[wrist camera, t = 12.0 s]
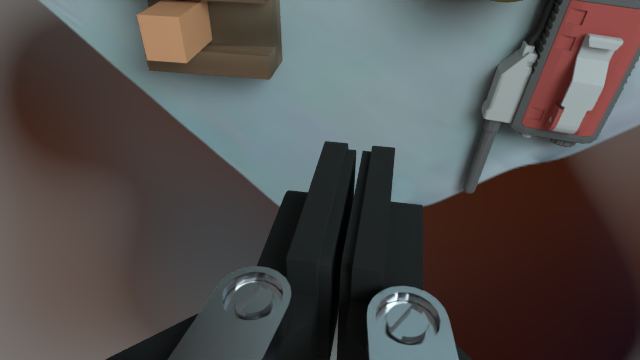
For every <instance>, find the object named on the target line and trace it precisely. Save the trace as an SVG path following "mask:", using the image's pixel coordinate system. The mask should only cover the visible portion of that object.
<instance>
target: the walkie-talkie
mask: <svg viewBox="0 0 640 360" xmlns="http://www.w3.org/2000/svg"><path fill="white" fill-rule="evenodd" d="M535 40H536V41H535ZM639 56H640V0H548V1H547V4H546V6H545V9H544V12H543V14H542V17H541V20H540V22H539V24H538V27H537V28H536V30H535V32H534V33H533V34H532V35H530V37H529V38H528V40H527V41H523V43H522V46H521V48H519V49H518V50H517V51H515V52H514V53H513V54H511V55H510V56H509V57H508V58H506V59H505V60H504V61H502V62H501V63H500V64H499V65H498V67H497V70H496V73H495V76H494V79H493V82H492V84H491V87H490V90H489V93H488V96H487V99H486V100H485V101H484V102H483V105H482V108H481V110H482V115H483V118H484V119H486V120H485V122H484V125H483V128H484V130H483V133H482V136H481V139H480V142H479V145H478V147H477V150H476V153H475V156H474V159H473V162H472V165H471V167H470V170H469V173H468V176H467V179H466V182H465V185H464V187H463V188H464V191H465V192H466V193H473V192H474V191H475V188H476V186H477V183H478V180H479V178H480V175H481V172H482V170H483V167H484V164H485V162H486V159H487V156H488V154H489V151H490V148H491V146H492V143H493V140H494V138H495V135H496V132H498V131H499V130H500V127H501V124H502V122H505V123H511V124H510V127H511V128H513V129H514V131H517V132H520V133H521V135H522V136H524V137H526V138H531V137H532V135H533V136H539V137H545V138H549V139H550V140H551V141H552V142H553V143H555V144H557V145H560V146H564V147H571V146H574V145H575V144H576V143H582V144H584V143H591V142H593V141H594V140H596V139H597V137H598V136H599V134H600V132H601V130H602V128H603V126H604V124H605V122H606V120H607V119H608V117H609V115H610V113H611V111H612V109H613V107H614V105H615V103H616V102H617V100H618V98H619V96H620V94H621V92H622V90H623V86H624V84H625V83H627V79H628V77H629V76H630V75H631V71H632V69H634V68H635V66H634V65H635V63H636V62H637V61H638V60H639V59H638V58H639Z"/></svg>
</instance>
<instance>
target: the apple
mask: <svg viewBox="0 0 640 360" xmlns="http://www.w3.org/2000/svg"><path fill="white" fill-rule="evenodd" d="M492 1H496V2H516V1H522V0H492Z"/></svg>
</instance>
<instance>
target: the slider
mask: <svg viewBox="0 0 640 360" xmlns="http://www.w3.org/2000/svg"><path fill="white" fill-rule="evenodd" d="M137 18H138V22H139V26H140V31H141V35H142V40H143V44H144V48H145V53H146V57H147V60H150V61H164V62H177V63H187V62H189V61H190V60H191V59H192V58H193V57H194V56H195V55H196V54H197V53H198V52H200V51H201V50H202V49H203V48H204V47H205V46H206V45H207V44H208V43H209V42H211V41H212V33H211V26H210V18H209V11H208V4H207V1H203V0H161V1H160V2H158V3H156V4H154V5H153V6H151V7H149V8H147V9H146V10H144V11H142V12H141V13H139V14H137Z"/></svg>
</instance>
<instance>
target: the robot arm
mask: <svg viewBox="0 0 640 360" xmlns="http://www.w3.org/2000/svg"><path fill="white" fill-rule="evenodd" d="M394 156H395V148H391V147H381V146H372V151H371V152H370V151H363V153H362V158H361V163H360V168H359V173H358V179H357V184H356V189H355V194H354V183H355V165H356V150H349V149H348V143H338V142H327V141H326V142H325V143H324V146H323V149H322V152H321V155H320V158H319V161H318V164H317V167H316V170H315V173H314V176H313V179H312V182H311V185H310V188H309V192H299V191H289V190H288V191H287V192H286V194H285V196H284V198H283V201H282V203H281V206H280V209H279V211H278V214H277V216H276V219H275V221H274V224H273V226H272V229H271V231H270V234H269V236H268V239H267V242H266V244H265V247H264V249H263V252H262V254H261V257H260V259H259V262H258V264H257V266H254V267H245V268H242V269H240V270H237V271H234V272H233V273H231V274H229V275H228V276H226V277H225V278H224V279H223V280H222V281H221V282H220V283H219V284H218V286H217V288H216V289H215V290H214V292H213V293H212V295H211V296H210V298H209V299H208V301H207V302H206V304H205V305H204V306H203V308H202V309H201V311H200V312H199V314H196V315H194V316H192V317H190V318H188V319H186V320H184V321H182V322H180V323H178V324H176V325H174V326H172V327H170V328H168V329H166V330H164V331H162V332H160V333H158V334H156V335H154V336H152V337H150V338H148V339H146V340H144V341H142V342H140V343H138V344H136V345H134V346H132V347H130V348H128V349H126V350H123V351H122V352H120V353H118V354H115V355H114V356H111V357H110V358H108V359H106V360H330V356H331V351H332V345H333V340H334V334H335V328H336V323H337V317H338V312H339V319H338V344H337V360H472V359H471V358H470V357H469V356H468V355H466V354H465V353H464V352H463V351H462V350H461V349H460V348H459V347H458V346H457V345H456V344H455V342H454V338H453V334H452V330H451V325H450V321H449V318H448V315H447V313H446V311H445V309H444V307H443V306H442V305H441V304H440V302H439V301H438V300H437V299H436V298H434V297H433V296H431V295H430V294H429V293H427V292H425V291H423V206H422V205H416V204H407V203H398V202H390V201H391V190H392V179H393V167H394Z"/></svg>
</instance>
